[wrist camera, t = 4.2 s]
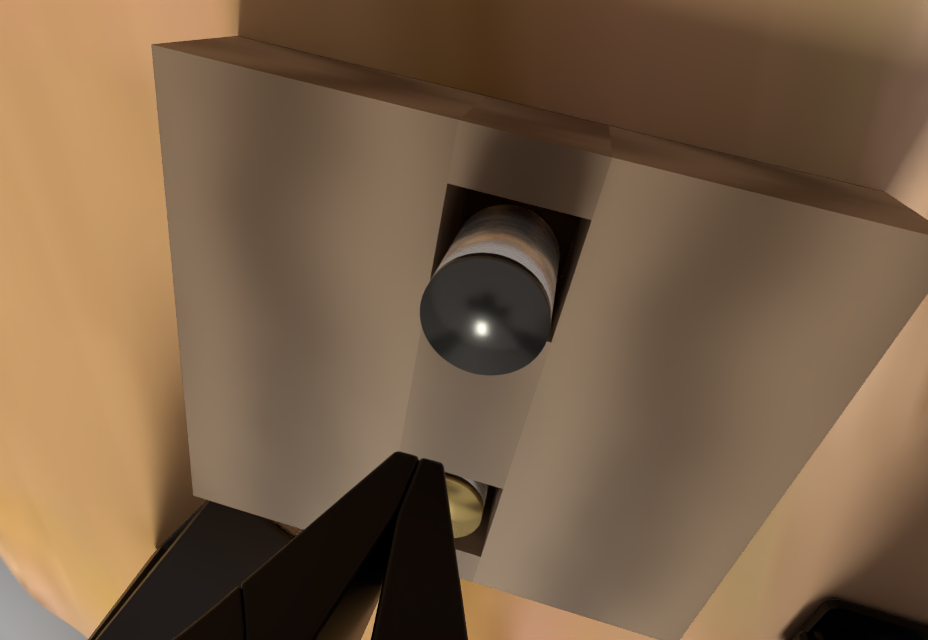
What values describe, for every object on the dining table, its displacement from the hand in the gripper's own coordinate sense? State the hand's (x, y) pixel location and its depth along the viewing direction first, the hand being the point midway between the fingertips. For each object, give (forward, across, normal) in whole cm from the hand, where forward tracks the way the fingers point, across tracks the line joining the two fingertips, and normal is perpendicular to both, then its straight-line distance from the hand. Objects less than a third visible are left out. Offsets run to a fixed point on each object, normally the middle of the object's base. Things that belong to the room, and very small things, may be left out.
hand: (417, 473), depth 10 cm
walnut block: (+11, 0, +4) cm, 12 cm away
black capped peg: (+8, 0, -1) cm, 8 cm away
